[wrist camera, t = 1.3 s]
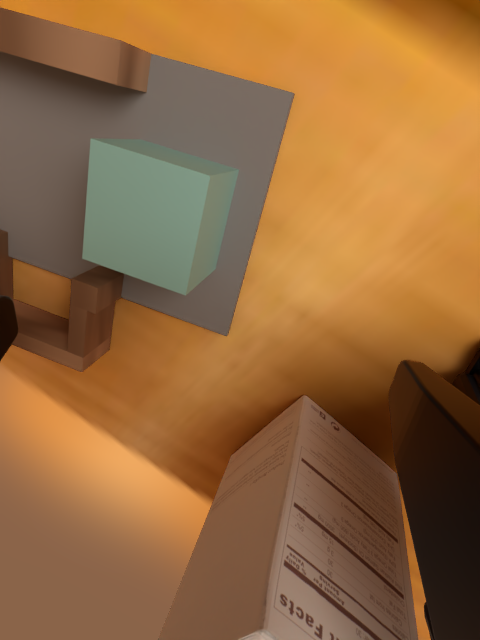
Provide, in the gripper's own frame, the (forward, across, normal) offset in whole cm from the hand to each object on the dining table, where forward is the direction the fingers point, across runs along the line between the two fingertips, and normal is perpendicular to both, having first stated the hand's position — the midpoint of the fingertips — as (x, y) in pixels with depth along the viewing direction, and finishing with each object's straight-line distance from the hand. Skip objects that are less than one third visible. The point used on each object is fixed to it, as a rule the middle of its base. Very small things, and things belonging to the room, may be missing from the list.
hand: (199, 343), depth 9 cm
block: (+12, +4, 0) cm, 12 cm away
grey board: (+13, +10, -1) cm, 16 cm away
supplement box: (+10, -6, +14) cm, 18 cm away
